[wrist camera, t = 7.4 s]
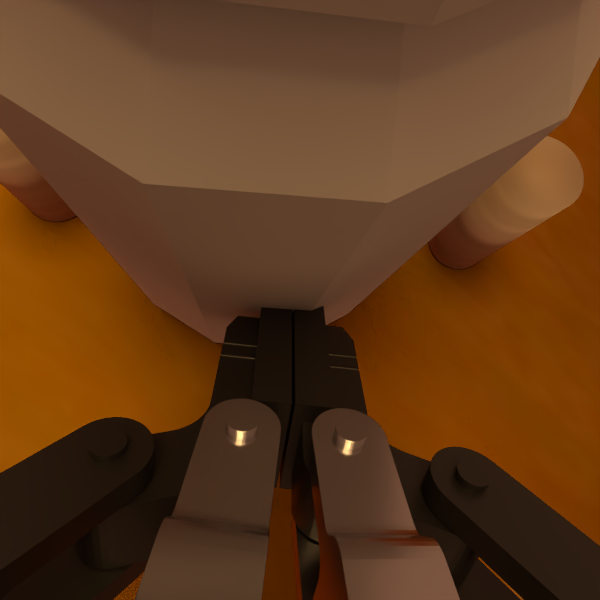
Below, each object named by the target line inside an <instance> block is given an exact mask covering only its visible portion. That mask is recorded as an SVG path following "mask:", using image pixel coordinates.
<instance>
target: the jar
mask: <svg viewBox="0 0 600 600" xmlns="http://www.w3.org/2000/svg"><path fill="white" fill-rule="evenodd" d="M599 57H600V0H0V128H1V129H2V131H3V132H4V133H5V134H6V135H7V136H8V137H9V139H10V140H11V141H12V142H13V143H14V144H15V145H16V147H17V148H18V149H19V150H20V151H21V152H22V153H23V155H24V156H25V157H26V158H27V159H28V160H29V161H30V163H31V164H32V165H33V166H34V167H35V168H36V170H37V171H38V172H39V173H40V174H41V175H42V176H43V178H44V179H45V180H46V181H47V182H48V183H49V184H50V186H51V187H52V188H53V189H54V190H55V191H56V192H57V194H58V195H59V196H60V197H61V198H62V199H63V200H64V202H65V203H66V204H67V205H68V206H69V207H70V208H71V210H72V211H73V212H74V213H75V214H76V215H77V216H78V218H79V219H80V220H81V221H82V222H83V223H84V225H85V226H86V227H87V228H88V229H89V230H90V231H91V233H92V234H93V235H94V236H95V237H96V238H97V239H98V241H99V242H100V243H101V244H102V245H103V246H104V247H105V249H106V250H107V251H108V252H109V253H110V254H111V255H112V257H113V258H114V259H115V260H116V261H117V262H118V263H119V265H120V266H121V267H122V268H123V269H124V270H125V271H126V273H127V274H128V275H129V276H130V277H131V278H132V280H133V281H134V282H135V283H136V284H137V285H138V286H139V288H140V289H141V290H142V291H143V292H144V293H145V294H146V296H147V297H148V298H149V299H150V300H151V301H152V302H153V304H155V305H156V306H158V307H159V308H161V309H162V310H164V311H166V312H167V313H169V314H170V315H172V316H173V317H175V318H177V319H178V320H180V321H181V322H183V323H184V324H186V325H188V326H189V327H191V328H192V329H194V330H195V331H197V332H199V333H200V334H202V335H203V336H205V337H206V338H208V339H210V340H211V341H213V342H214V343H224V337H225V332H226V328H227V326H228V325H229V324H230V323H231V322H232V321H233V320H234V319H235V318H236V317H237V316H246V317H255V318H260V313H261V307H265V308H280V309H292V313H293V311H294V309H295V310H311V311H312V310H314V309H317V308H319V307H321V306H324V314H325V323H326V325H328V324H329V323H331V322H333V321H335V320H337V319H339V318H341V317H343V316H345V315H347V314H348V313H349V312H350V311H351V310H353V309H354V308H355V307H356V306H357V305H358V304H359V303H360V302H361V301H363V300H364V299H365V298H366V297H367V296H368V295H369V294H370V293H372V292H373V291H374V290H375V289H376V288H377V287H378V286H379V285H381V284H382V283H383V282H384V281H385V280H386V279H387V278H388V277H389V276H391V275H392V274H393V273H394V272H395V271H396V270H397V269H398V268H400V267H401V266H402V265H403V264H404V263H405V262H406V261H407V260H409V259H410V258H411V257H412V256H413V255H414V254H415V253H416V252H417V251H419V250H420V249H421V248H422V247H423V246H424V245H425V244H426V243H428V242H429V241H430V240H431V239H432V238H433V237H434V236H435V235H437V234H438V233H439V232H440V231H441V230H442V229H443V228H444V227H445V226H447V225H448V224H449V223H450V222H451V221H452V220H453V219H454V218H456V217H457V216H458V215H459V214H460V213H461V212H462V211H463V210H465V209H466V208H467V207H468V206H469V205H470V204H471V203H472V202H473V201H475V200H476V199H477V198H478V197H479V196H480V195H481V194H482V193H484V192H485V191H486V190H487V189H488V188H489V187H490V186H491V185H492V184H494V183H495V182H496V181H497V180H498V179H499V178H500V177H501V176H503V175H504V174H505V173H506V172H507V171H508V170H509V169H510V168H512V167H513V166H514V165H515V164H516V163H517V162H518V161H519V160H520V159H522V158H523V157H524V156H525V155H526V154H527V153H528V152H529V151H531V150H532V149H533V148H534V147H535V146H536V145H537V144H538V143H540V142H541V141H542V140H543V139H544V138H545V137H546V136H547V135H548V134H550V133H551V132H552V131H553V130H554V129H555V128H556V127H557V126H559V125H560V124H561V123H562V122H563V121H564V120H565V119H566V118H568V116H569V114H570V112H571V110H572V109H573V107H574V105H575V103H576V101H577V99H578V97H579V95H580V93H581V91H582V90H583V88H584V86H585V84H586V82H587V80H588V78H589V76H590V74H591V72H592V71H593V69H594V67H595V65H596V63H597V61H598V59H599Z"/></svg>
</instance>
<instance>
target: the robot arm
mask: <svg viewBox="0 0 600 600" xmlns="http://www.w3.org/2000/svg"><path fill="white" fill-rule="evenodd" d="M279 471H280V488H285V489H292V515H293V517H292V522H291V531H292V544H293V557H294V570H295V582H296V595H297V600H520V599H519V598H518V597H517V596H516V595H515V594H514V593H513V592H512V591H511V590H510V589H509V588H508V587H507V586H506V585H505V584H504V583H503V582H502V581H501V580H500V579H498V578H497V577H496V576H495V575H494V574H493V573H492V572H491V571H490V570H489V569H488V568H487V567H486V566H485V565H484V564H483V563H482V562H481V561H480V560H479V559H478V557H480V558H481V559H482V560H483V561H484V562H485V563H486V564H487V565H488V566H489V567H490V568H491V569H493V570H494V571H495V572H496V573H497V574H498V575H499V576H500V577H501V578H502V579H503V580H504V581H505V582H506V583H507V584H508V585H509V586H510V587H511V588H512V589H514V590H515V591H516V592H517V593H518V594H519V595H520V596H521V597H522V598H523V599H524V600H600V546H599V545H598V544H596V543H595V542H594V541H593V540H591V539H590V538H589V537H588V536H586V535H585V534H584V533H582V532H581V531H580V530H579V529H577V528H576V527H575V526H574V525H572V524H571V523H570V522H569V521H567V520H566V519H565V518H563V517H562V516H561V515H560V514H558V513H557V512H556V511H555V510H553V509H552V508H551V507H549V506H548V505H547V504H546V503H544V502H543V501H542V500H541V499H539V498H538V497H537V496H536V495H534V494H533V493H532V492H530V491H529V490H528V489H527V488H525V487H524V486H523V485H522V484H520V483H519V482H518V481H516V480H515V479H514V478H513V477H511V476H510V475H509V474H508V473H506V472H505V471H504V470H503V469H501V468H500V467H499V466H497V465H496V464H495V463H494V462H492V461H491V460H490V459H488V458H487V457H485V456H483V455H482V454H480V453H478V452H475V451H473V450H470V449H467V448H462V447H447V448H444V449H442V450H440V451H438V452H437V453H436V454H435V455H434V456H433V458H432V460H431V462H430V461H428V460H425V459H422V458H419V457H416V456H414V455H411V454H408V453H405V452H403V451H400V450H398V449H396V448H394V447H392V446H391V445H389V444H388V441H387V438H386V435H385V433H384V431H383V429H382V428H381V427H380V425H379V424H378V423H377V422H376V421H374V420H373V419H372V418H370V417H369V416H367V410H366V405H365V400H364V395H363V389H362V384H361V379H360V374H359V371H358V363H357V359H356V353H355V347H354V342H353V340H352V339H351V338H350V336H349V335H348V334H347V332H346V331H345V330H344V329H343V327H334V326H326V323H325V314H324V306H321V307H319V308H317V309H314V310H312V311H311V310H295V309H294V311H293V313H292V309H280V308H265V307H261V313H260V318H255V317H246V316H237V317H236V318H235V319H234V320H233V321H232V322H231V323H230V324H229V325H228V326H227V328H226V332H225V337H224V343H223V347H222V351H221V356H220V361H219V366H218V370H217V375H216V380H215V385H214V389H213V394H212V399H211V403H210V406H209V408H208V410H207V411H206V413H205V414H204V415H203V416H202V417H201V418H200V419H199V420H197V421H196V422H194V423H193V424H191V425H189V426H187V427H184V428H181V429H178V430H173V431H168V432H162V433H156V434H151V433H150V431H149V430H148V429H147V428H146V427H145V426H144V425H143V424H141V423H140V422H137V421H135V420H132V419H129V418H122V417H111V418H104V419H100V420H96V421H94V422H91V423H89V424H87V425H85V426H83V427H81V428H79V429H77V430H76V431H74V432H72V433H70V434H69V435H67V436H65V437H63V438H62V439H60V440H58V441H56V442H55V443H53V444H51V445H49V446H48V447H46V448H44V449H42V450H40V451H39V452H37V453H35V454H33V455H32V456H30V457H28V458H26V459H25V460H23V461H21V462H19V463H18V464H16V465H14V466H12V467H11V468H9V469H7V470H5V471H3V472H2V473H0V600H113V599H114V598H115V597H116V596H117V595H118V594H120V593H121V592H122V591H123V590H124V589H125V588H126V587H127V586H128V585H130V584H131V583H132V582H133V581H134V580H135V579H136V578H137V577H138V576H140V575H141V574H142V573H143V572H144V574H143V577H142V580H141V583H140V586H139V589H138V592H137V595H136V597H135V600H261V598H262V590H263V582H264V574H265V566H266V558H267V550H268V541H269V522H270V514H271V506H272V498H273V490H274V487H275V488H276V487H277V482H278V476H279Z"/></svg>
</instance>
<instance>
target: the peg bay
mask: <svg viewBox="0 0 600 600" xmlns="http://www.w3.org/2000/svg"><path fill="white" fill-rule="evenodd" d="M583 182H584V177H583V171H582V167H581V165H580V162H579V160H578V159H577V157H576V156H575V154H574V153H573V152H572V151H571V150H570V149H569V148H568V147H567V146H566V145H565V144H563V143H562V142H560V141H558V140H556V139H554V138H551V137H548V136H546V137H545V138H544V139H543V140H542V141H541V142H540V143H538V144H537V145H536V146H535V147H534V148H533V149H532V150H531V151H529V152H528V153H527V154H526V155H525V156H524V157H523V158H522V159H520V160H519V161H518V162H517V163H516V164H515V165H514V166H513V167H512V168H510V169H509V170H508V171H507V172H506V173H505V174H504V175H503V176H501V177H500V178H499V179H498V180H497V181H496V182H495V183H494V184H492V185H491V186H490V187H489V188H488V189H487V190H486V191H485V192H484V193H482V194H481V195H480V196H479V197H478V198H477V199H476V200H475V201H473V202H472V203H471V204H470V205H469V206H468V207H467V208H466V209H465V210H463V211H462V212H461V213H460V214H459V215H458V216H457V217H456V218H454V219H453V220H452V221H451V222H450V223H449V224H448V225H447V226H445V227H444V228H443V229H442V230H441V231H440V232H439V233H438V234H437V235H435V236H434V237H433V238H432V239H431V240H430V241H429V247H430V250H431V252H432V253H433V255H434V256H435V258H436V259H437V260H438V261H439V262H440V263H442V264H443V265H445V266H447V267H450V268H453V269H465V268H468V267H470V266H472V265H474V264H475V263H477V262H479V261H480V260H482V259H484V258H485V257H487V256H488V255H490V254H492V253H493V252H495V251H497V250H498V249H500V248H501V247H503V246H505V245H506V244H508V243H510V242H511V241H513V240H514V239H516V238H518V237H519V236H521V235H522V234H524V233H526V232H527V231H529V230H531V229H532V228H534V227H535V226H537V225H539V224H540V223H542V222H544V221H545V220H547V219H548V218H550V217H552V216H553V215H555V214H557V213H558V212H560V211H561V210H563V209H565V208H566V207H568V206H569V205H571V204H572V203H574V202H575V201H576V200H577V198H578V197H579V195H580V193H581V191H582V188H583ZM0 183H1V184H2V185H3V186H4V187H5V188H6V189H7V190H9V191H10V192H11V193H12V194H13V195H14V196H15V197H16V198H17V199H18V200H19V201H20V202H22V203H23V204H24V205H25V206H26V207H27V208H28V209H29V210H30V211H31V212H32V213H34V214H35V215H36V216H38V217H39V218H41V219H43V220H47V221H51V222H61V221H66V220H69V219H72V218H74V217H75V216H77V215H76V214H75V213H74V212H73V211H72V210H71V208H70V207H69V206H68V205H67V204H66V203H65V202H64V200H63V199H62V198H61V197H60V196H59V195H58V194H57V192H56V191H55V190H54V189H53V188H52V187H51V186H50V184H49V183H48V182H47V181H46V180H45V179H44V178H43V176H42V175H41V174H40V173H39V172H38V171H37V170H36V168H35V167H34V166H33V165H32V164H31V163H30V161H29V160H28V159H27V158H26V157H25V156H24V155H23V153H22V152H21V151H20V150H19V149H18V148H17V147H16V145H15V144H14V143H13V142H12V141H11V140H10V139H9V137H8V136H7V135H6V134H5V133H4V132H3V131H2V129H1V128H0Z"/></svg>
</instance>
